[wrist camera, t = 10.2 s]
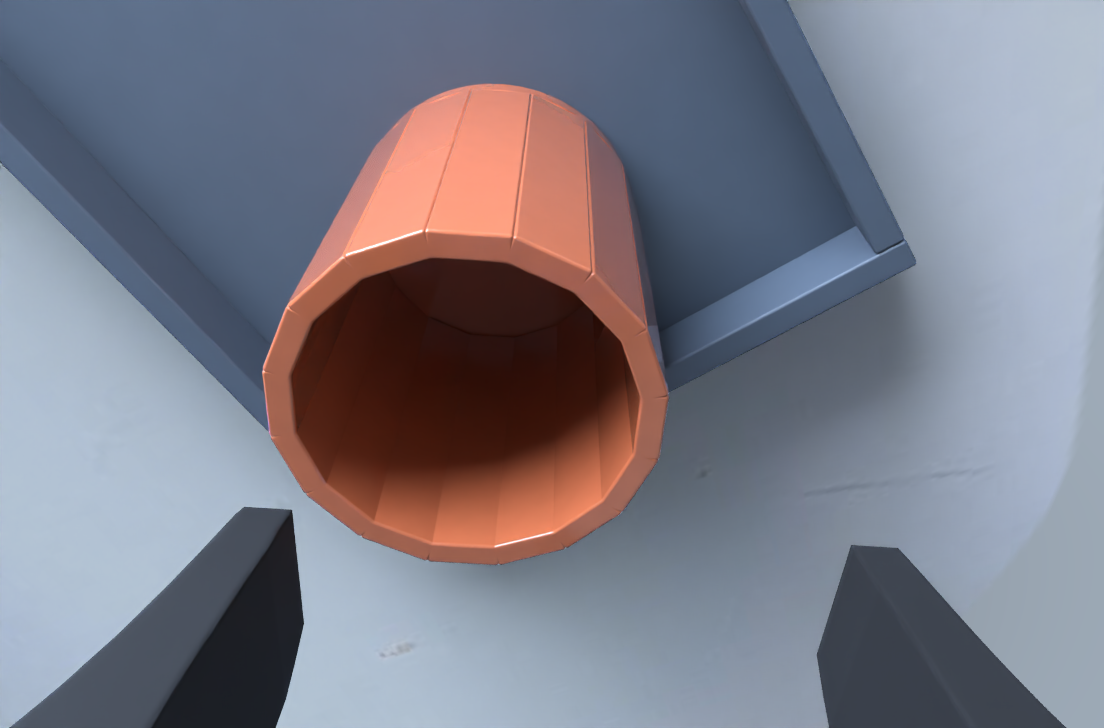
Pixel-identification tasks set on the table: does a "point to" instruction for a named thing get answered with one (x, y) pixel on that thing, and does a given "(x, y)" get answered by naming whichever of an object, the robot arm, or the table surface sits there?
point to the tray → (387, 95)
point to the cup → (475, 337)
